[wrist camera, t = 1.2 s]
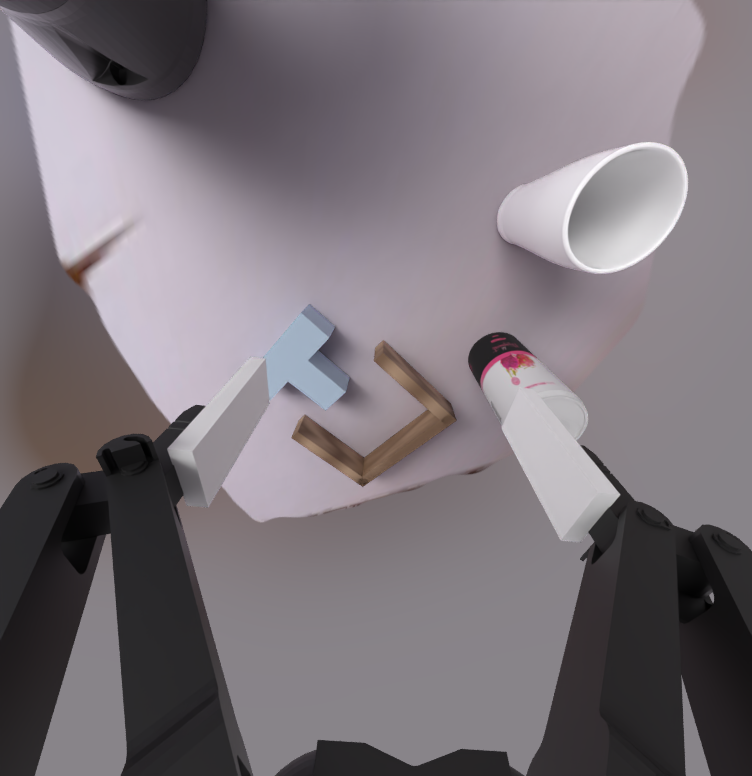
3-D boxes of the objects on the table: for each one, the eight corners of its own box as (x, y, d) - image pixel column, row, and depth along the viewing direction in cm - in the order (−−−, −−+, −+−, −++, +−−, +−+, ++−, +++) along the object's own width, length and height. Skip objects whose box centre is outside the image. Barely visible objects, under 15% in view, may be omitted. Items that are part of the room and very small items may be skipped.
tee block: (255, 367, 40) (243, 381, 36) (309, 303, 35) (301, 312, 32) (313, 411, 43) (306, 427, 40) (369, 358, 38) (367, 371, 35)
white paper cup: (551, 246, 31) (667, 267, 18) (486, 256, 32) (553, 283, 19) (562, 168, 28) (713, 127, 15) (489, 181, 29) (573, 152, 16)
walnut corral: (298, 420, 44) (291, 437, 41) (383, 340, 37) (383, 352, 34) (364, 467, 49) (362, 486, 45) (450, 403, 42) (456, 420, 38)
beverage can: (481, 324, 36) (534, 385, 23) (529, 338, 37) (608, 406, 24) (459, 370, 39) (495, 447, 26) (504, 382, 40) (561, 463, 27)
